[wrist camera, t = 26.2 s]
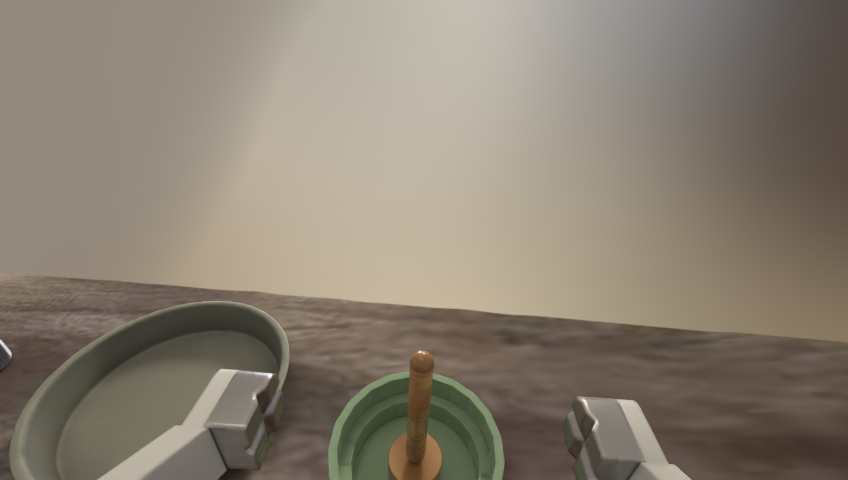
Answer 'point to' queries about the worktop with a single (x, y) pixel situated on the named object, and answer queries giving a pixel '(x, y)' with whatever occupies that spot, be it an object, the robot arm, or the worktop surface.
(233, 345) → the cake pan
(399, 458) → the wooden peg stand
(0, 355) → the pill bottle
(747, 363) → the worktop surface
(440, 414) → the bowl
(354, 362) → the worktop surface
